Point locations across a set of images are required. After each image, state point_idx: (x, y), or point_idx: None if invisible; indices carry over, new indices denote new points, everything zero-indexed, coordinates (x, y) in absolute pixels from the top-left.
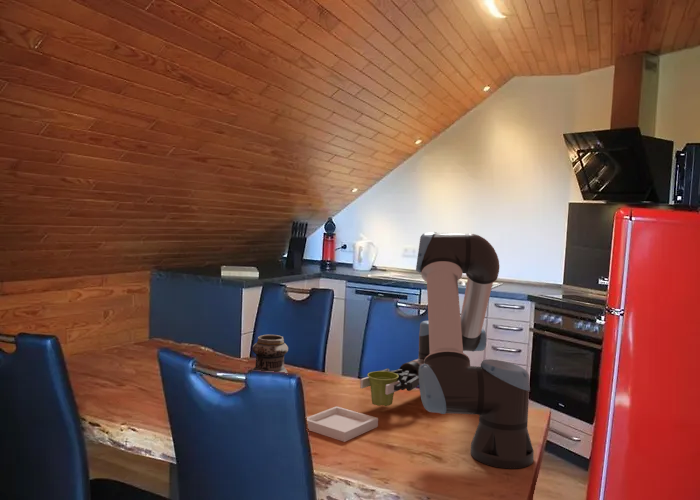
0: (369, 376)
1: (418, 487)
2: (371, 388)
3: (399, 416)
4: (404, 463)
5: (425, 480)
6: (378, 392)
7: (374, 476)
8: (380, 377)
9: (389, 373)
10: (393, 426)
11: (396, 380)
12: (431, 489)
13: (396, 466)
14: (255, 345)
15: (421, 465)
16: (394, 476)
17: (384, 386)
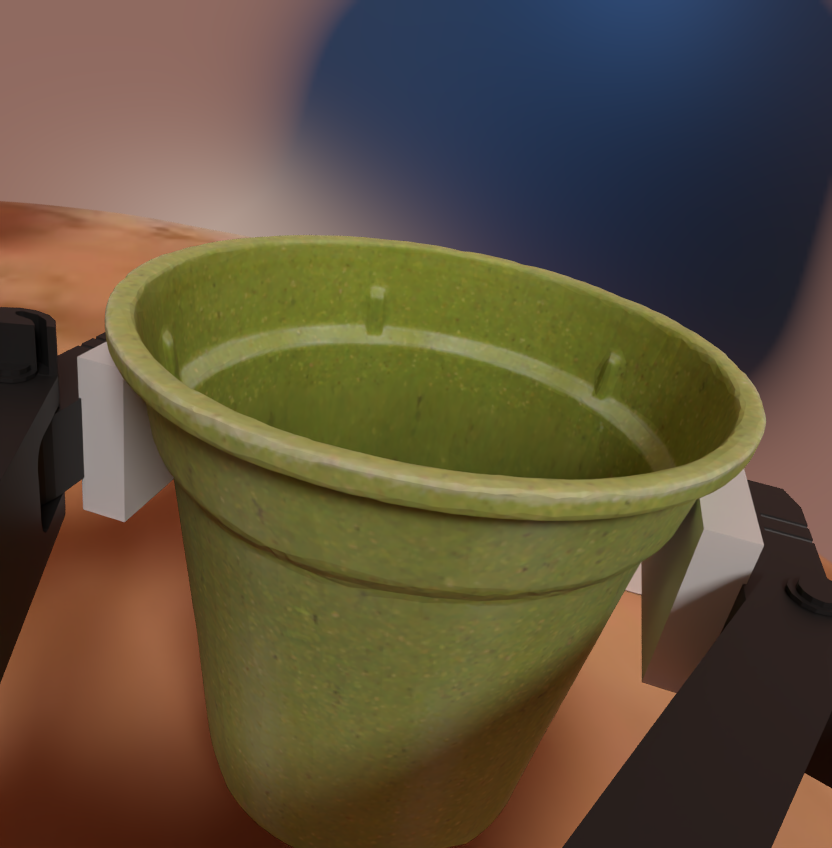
0: (595, 287)
1: (53, 215)
2: (534, 475)
3: (88, 744)
4: (92, 272)
5: (20, 227)
6: (402, 454)
7: (204, 242)
8: (585, 576)
9: (391, 488)
10: (157, 516)
11: (152, 352)
12: (9, 209)
13: (127, 264)
14: None
15: (15, 265)
16: (134, 239)
17: (330, 357)
